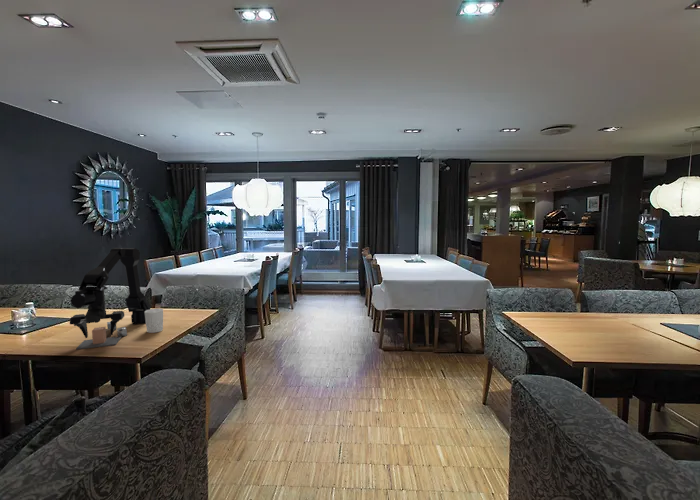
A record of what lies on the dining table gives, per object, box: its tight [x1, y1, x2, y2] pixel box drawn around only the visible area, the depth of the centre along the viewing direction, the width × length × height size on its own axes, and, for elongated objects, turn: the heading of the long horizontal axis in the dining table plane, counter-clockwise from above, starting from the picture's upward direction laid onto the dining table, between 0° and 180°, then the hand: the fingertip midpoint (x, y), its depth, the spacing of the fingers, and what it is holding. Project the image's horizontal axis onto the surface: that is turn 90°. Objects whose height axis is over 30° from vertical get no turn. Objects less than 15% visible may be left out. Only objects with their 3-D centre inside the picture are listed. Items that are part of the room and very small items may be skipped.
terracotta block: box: [91, 326, 107, 344], centre depth 152 cm, size 4×4×6 cm
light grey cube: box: [116, 326, 128, 338], centre depth 162 cm, size 4×4×4 cm
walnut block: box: [106, 328, 112, 338], centre depth 160 cm, size 4×4×4 cm
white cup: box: [144, 308, 164, 334], centre depth 169 cm, size 8×8×10 cm
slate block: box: [106, 321, 118, 331], centre depth 171 cm, size 4×4×4 cm
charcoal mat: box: [76, 335, 122, 351], centre depth 153 cm, size 14×10×1 cm
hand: (99, 336), depth 152 cm, fingers open, 9 cm apart
